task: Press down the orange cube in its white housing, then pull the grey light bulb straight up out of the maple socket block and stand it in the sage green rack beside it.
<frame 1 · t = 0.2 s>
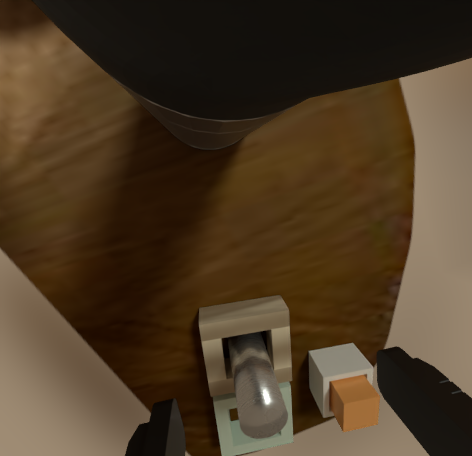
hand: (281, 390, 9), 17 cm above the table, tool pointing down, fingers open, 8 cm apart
orange cube: (351, 399, 28), point 5 cm above the table, slide at 0.0 cm
plunger housing: (330, 365, 32), on the table
socket block: (244, 335, 29), on the table
green rack: (250, 399, 32), on the table
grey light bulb: (252, 369, 25), in the socket block
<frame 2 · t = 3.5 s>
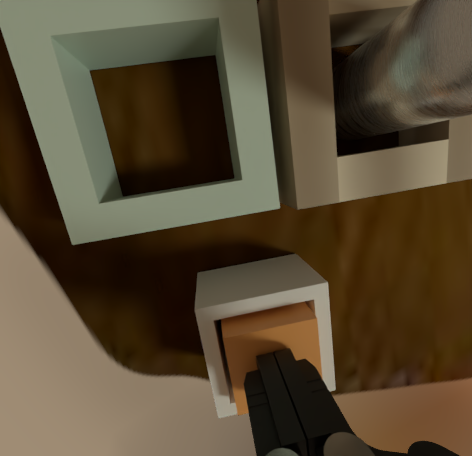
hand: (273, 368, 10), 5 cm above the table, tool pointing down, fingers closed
orange cube: (266, 341, 12), point 3 cm above the table, slide at 1.6 cm, touching gripper
plunger housing: (254, 307, 15), on the table
socket block: (352, 101, 13), on the table
green rack: (167, 128, 12), on the table
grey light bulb: (436, 61, 8), in the socket block
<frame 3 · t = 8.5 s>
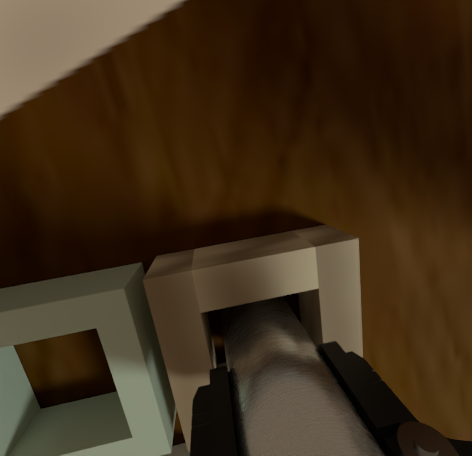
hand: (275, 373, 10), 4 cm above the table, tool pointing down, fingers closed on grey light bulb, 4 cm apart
socket block: (255, 315, 14), on the table
green rack: (79, 353, 14), on the table
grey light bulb: (281, 387, 10), in the socket block, touching gripper
when the fingers open (6 cm above the table, at t = 15.2 s): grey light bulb drops 1 cm, resting in green rack.
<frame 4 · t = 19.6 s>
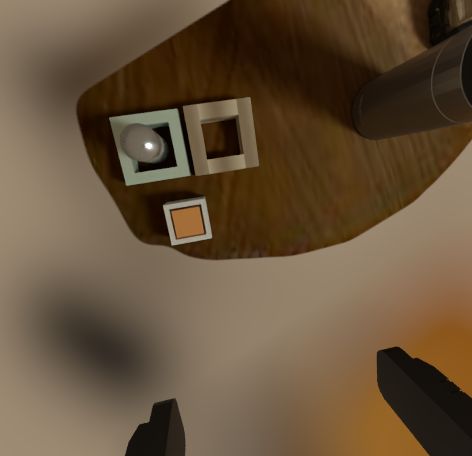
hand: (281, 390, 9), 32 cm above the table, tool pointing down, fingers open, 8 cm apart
orange cube: (188, 220, 37), point 2 cm above the table, slide at 2.3 cm
plunger housing: (189, 217, 40), on the table
cordless drill: (441, 25, 38), on the table
socket block: (221, 140, 38), on the table
green rack: (155, 149, 37), on the table
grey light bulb: (148, 146, 32), in the green rack
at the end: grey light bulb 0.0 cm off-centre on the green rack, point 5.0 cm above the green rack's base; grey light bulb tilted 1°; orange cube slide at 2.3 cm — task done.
